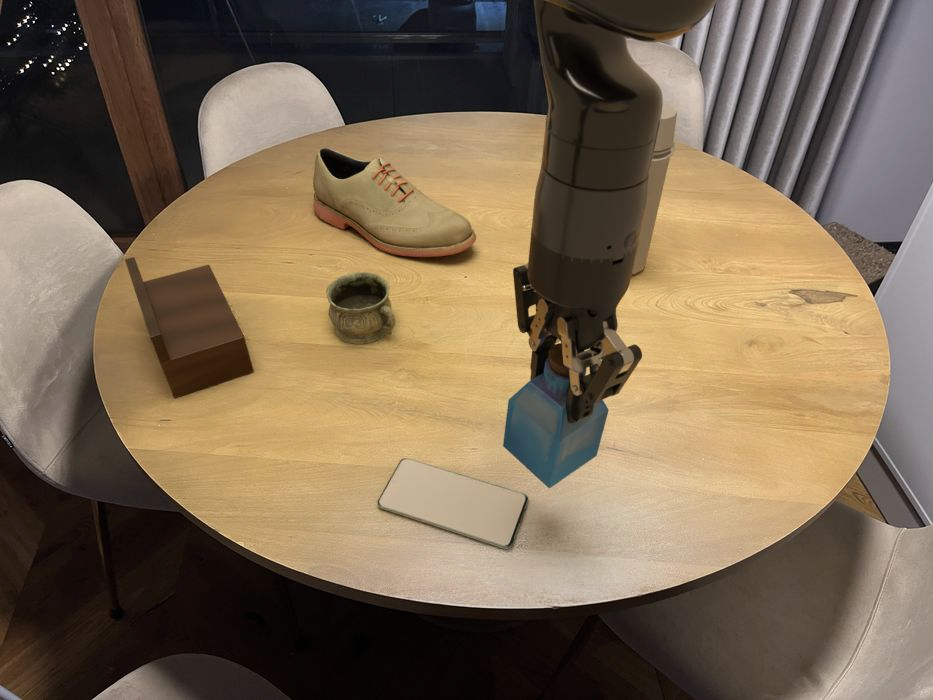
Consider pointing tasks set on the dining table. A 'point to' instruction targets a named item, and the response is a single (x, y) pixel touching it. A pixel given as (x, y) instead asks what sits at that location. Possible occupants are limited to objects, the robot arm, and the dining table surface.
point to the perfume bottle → (551, 425)
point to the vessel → (360, 307)
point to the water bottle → (656, 182)
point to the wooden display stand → (191, 328)
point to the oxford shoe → (385, 207)
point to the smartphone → (454, 502)
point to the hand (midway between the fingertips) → (559, 398)
